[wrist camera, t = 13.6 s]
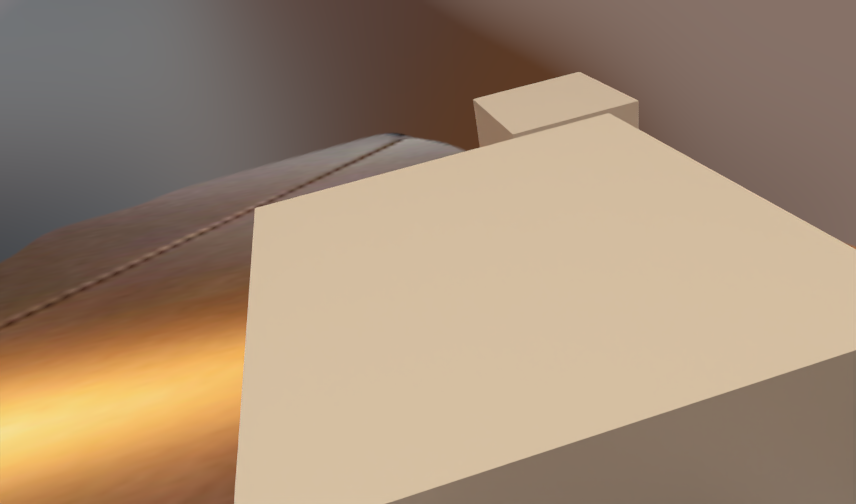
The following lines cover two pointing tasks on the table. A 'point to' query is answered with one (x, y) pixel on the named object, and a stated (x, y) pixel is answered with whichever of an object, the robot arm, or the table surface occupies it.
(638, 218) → the tan rectangular block
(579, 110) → the tall beige box
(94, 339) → the table surface
